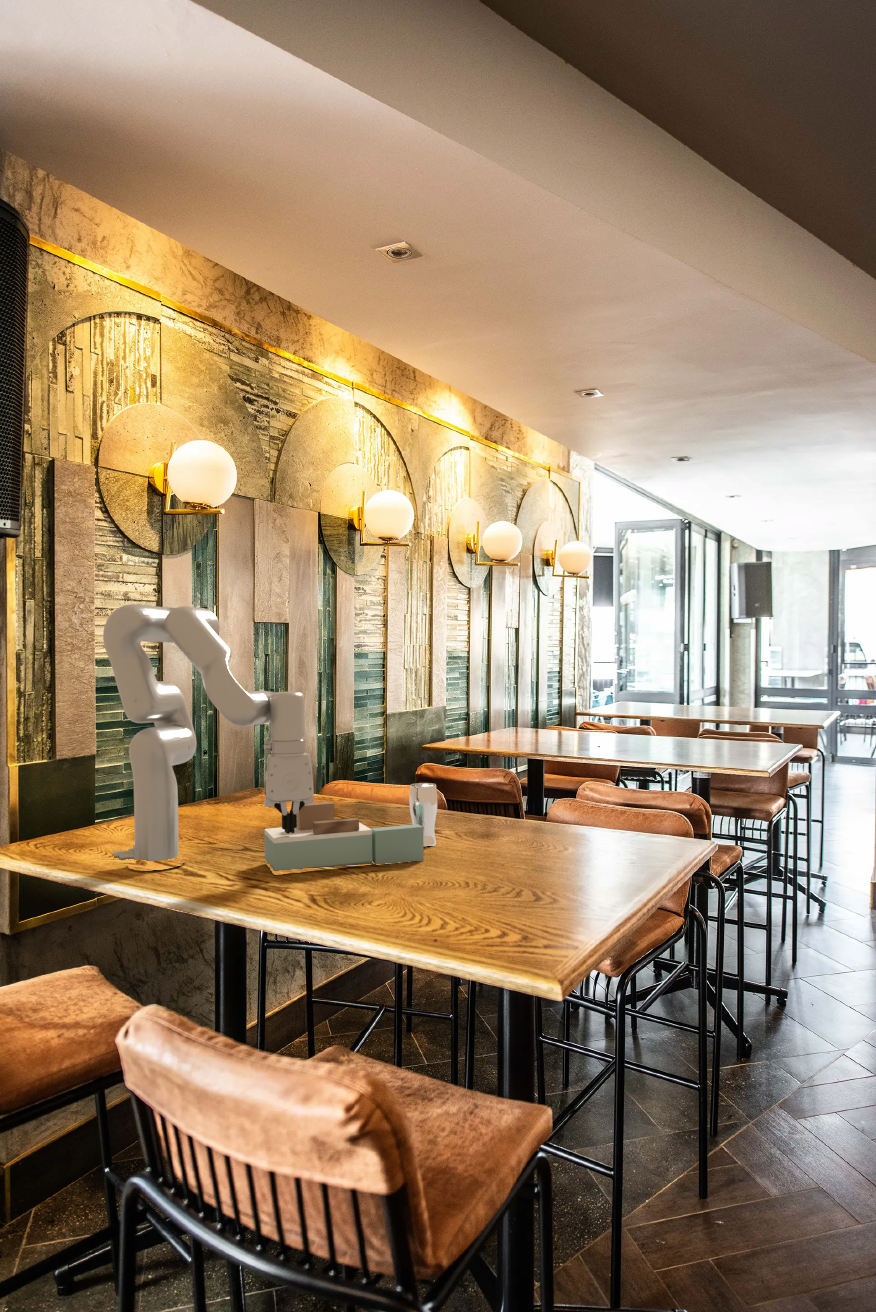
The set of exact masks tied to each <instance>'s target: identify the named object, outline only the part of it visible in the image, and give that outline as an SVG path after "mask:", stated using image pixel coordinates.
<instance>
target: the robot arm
mask: <svg viewBox="0 0 876 1312" xmlns="http://www.w3.org/2000/svg"><path fill="white" fill-rule="evenodd" d="M220 626H221V624H220V621H219V618H218V616H216V614H215V613H214V612H212V611H211V610H209V609H207V608H205V607H195V606H189V605H187V606H185V605H184V606H183V605H182V606H179V607H170V606H169V607H168V606H166V607H165V606H157V605H156V606H155V605H147V604H141V603H140V604H138V603H136V604H135V603H132V604H125V605H122V606H119V607H118V608H116V609H114V611H112V612H111V613H110V615H109V616H108V618H107V619H106V622H105V624H104V627H103V634H102V637H103V645H104V649H105V652H106V655H107V658H108V661H109V663H110V665H111V668H112V673H113V675H114V680H115V683H116V686H117V690H118V694H119V697H120V700H121V701H120V702H121V704H122V708H123V710H124V714H125V715H126V717H127V719H128V720H130V721H131V722H132V723H136V724H148V723H153V724H154V726H152V727H147V728H144V729H142V730H140V731H139V732H137V733H136V734H135V735H134V736H133V737H132V739H131V741H130V743H129V745H128V755H129V756H128V757H129V762H130V765H131V766H130V767H131V772H132V779H133V781H132V782H133V807H134V808H133V812H134V815H133V817H134V821H133V823H134V844H133V845H132V848H128V850H114V851H113V859H114V858H119V860H121V861H126V859H128V860H129V859H134V860H146V861H161V860H168V859H172V858H175V857H177V856H178V855H180V853H179V799H178V798H179V797H178V796H179V794H178V793H179V791H178V790H179V789H178V783H177V778H176V777H177V776H176V774H175V772H174V768H173V766H176V765H181V764H184V763H186V762H188V761H190V760H191V759H192V758H193V756H194V755H195V754H196V752H197V751H196V750H197V742H198V741H197V736H196V731H195V729H194V725H193V721H192V718H191V715H190V711H189V707H188V704H187V702H186V698H185V696H184V694H183V692H182V690H181V689H180V688H179V687H178V686H177V685H175V684H174V683H173V682H170V681H169V682H168V681H164V680H163V681H161V680H159V681H158V680H157V678H156V675H155V672H154V668H153V665H152V662H151V659H150V657H149V655H148V654H147V652H146V651H145V650H144V648H143V647H142V645H141V642H144V643H145V642H149V643H150V642H151V643H174V644H175V645H176V647H177V648H178V649H179V650H180V651H181V652H182V653H183V655H184V656H185V657H186V658H187V659H188V660H189V662H190V663H191V664H192V665H193V666H194V668H195V669H196V670H197V671H198V673H200V676H201V682H202V685H203V689H204V691H205V693H206V695H207V698H208V699H209V700H210V702H211V703H212V704H213V706H214V707H215V708H216V709H217V711H219V713H220V714H221V715H222V716H223V717H224V718H225V719H226V720H227V721H228V722H230V723H231V724H233V725H234V726H237V727H240V728H241V727H242V728H244V727H251V726H259V725H266V724H270V729H269V731H270V732H269V733H270V740H269V742H268V743H264V745H263V750H264V751H268V752H269V753H270V754H268V755H267V757H266V764H265V765H266V766H265V774H264V802H263V805H264V807H267V808H274V809H276V810H277V811H278V812H279V813H280V814H281V827H282V829H284V830H285V832H286V833H287V834H289V833H290V832H291V833H294V832H295V831H294V828H297V814H298V812H299V811H300V810H301V808H302V807H303V806H305V805H308V804H311V803H315V801H314V794H315V792H314V791H315V789H314V777H313V776H314V775H313V774H314V773H313V766H312V761H311V760H312V759H311V754H310V753H308V752H306V706H305V705H306V700H305V696H304V693H302V692H300V691H277V692H274V691H269V690H251V691H249V690H247V691H246V690H245V689H244V687H242V686H241V684H240V682H238V681H237V680H236V679H235V677H234V676H233V674H232V672H231V671H230V667H229V663H230V661H231V659H232V657H233V656H232V655H233V653H232V649H231V648H230V647H229V645H228V644H227V643H226V642H225V641H224V640H223V639H222V638H221V637H220V636H219V634H220V631H221V627H220ZM287 802H288V803H289V802H291V805H290V810H289V811H288V806H287ZM119 860H118V861H119Z"/></svg>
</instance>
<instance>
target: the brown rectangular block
mask: <svg viewBox="0 0 876 1312" xmlns="http://www.w3.org/2000/svg"><path fill="white" fill-rule="evenodd" d="M359 822H360V819H358V817H355V818H339V819H334V820H328V821H316V822H313V833H314V834H325V833H336V832H348V831H359Z"/></svg>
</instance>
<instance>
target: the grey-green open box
mask: <svg viewBox="0 0 876 1312" xmlns="http://www.w3.org/2000/svg"><path fill="white" fill-rule="evenodd" d="M370 829H371V830H372V834H370V835H359V836H348V837H338V838H327V839H316V840H305V841H295V842H284V843H273V842H272V841H271V840H270V839H269V837H268V836H267V835H266V834H265V833H264V860H265V859H266V861H267V862H268V863H269V864H270V866H271V867H272V868H273V870H274V871H279V870H291V869H303V868H317V867H318V868H319V867H335V866H346V865H358V864H372V865H373V863H372V861H373V862H374V863H375V864H385V863H398V862H408V863H410V862H409V861H418V862H424V861H423V860H425V859H424V858H425V857H424V856H425V855H424V848H423V826H421V825H419V824H405V825H404V824H403V825H394V826H393V825H392V826H383V827H372V828H370Z"/></svg>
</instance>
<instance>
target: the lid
mask: <svg viewBox="0 0 876 1312" xmlns="http://www.w3.org/2000/svg"><path fill="white" fill-rule="evenodd" d="M328 820H335V803H334V802H332V801H321V802H313V803H311V804H308V805H305V806H303V807H302V808H301V810H300V811H299V812H298V814H297V828H294V831H295V832H294V833H291V832H290V833H289V834H287V833H286V832H285V830H284V829H282V826H280V827H270V828H264V831H263V832H264V835H265V834H266V835H267V836H268V837H269V839H270V840H271V841H272V842H273V843H284V842H295V841H305V840H316V839H327V838H338V837H348V836H359V835H370V834H372V830H371V828H370V827H368V826H366V825H365V824H363V823H361V822H360V821H359V831H348V832H336V833H325V834H314V833H313V822H316V821H328Z"/></svg>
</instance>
